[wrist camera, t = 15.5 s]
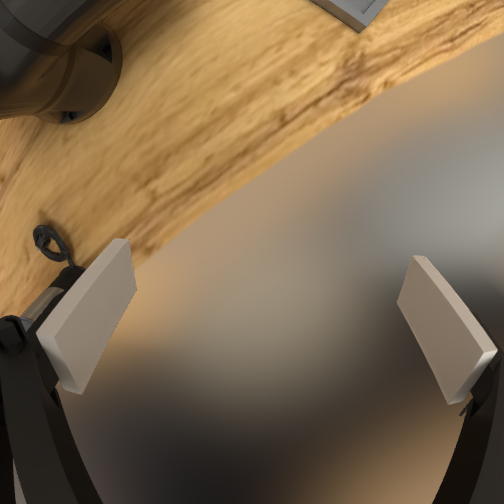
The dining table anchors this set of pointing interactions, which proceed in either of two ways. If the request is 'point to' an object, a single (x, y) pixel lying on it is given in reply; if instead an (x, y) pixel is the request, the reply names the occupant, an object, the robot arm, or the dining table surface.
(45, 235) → the milk frother
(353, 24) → the tray
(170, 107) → the dining table surface
